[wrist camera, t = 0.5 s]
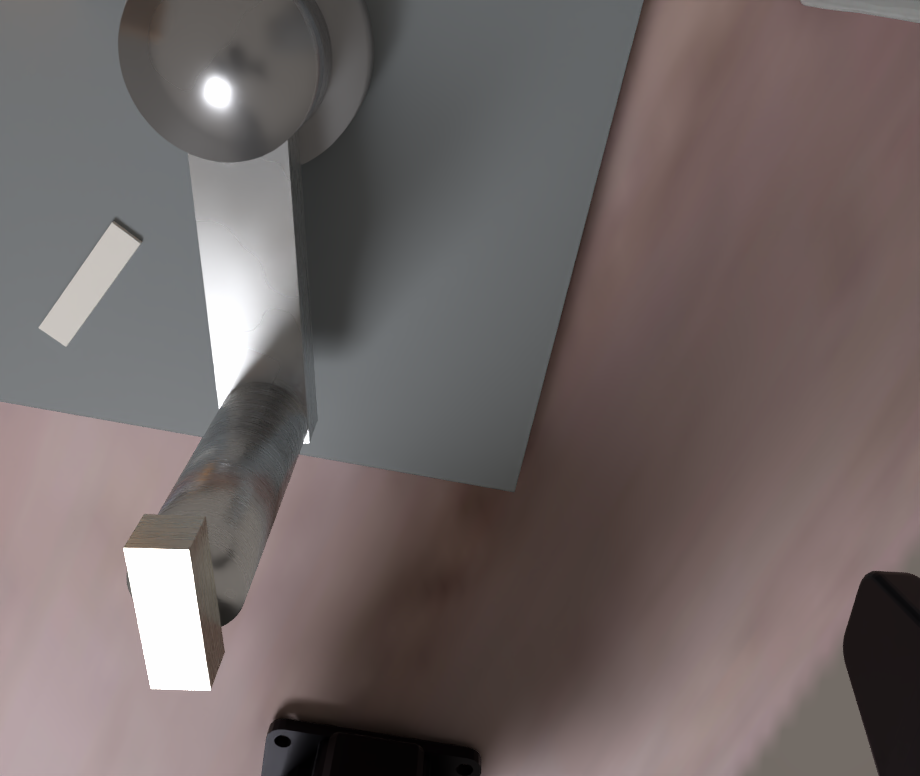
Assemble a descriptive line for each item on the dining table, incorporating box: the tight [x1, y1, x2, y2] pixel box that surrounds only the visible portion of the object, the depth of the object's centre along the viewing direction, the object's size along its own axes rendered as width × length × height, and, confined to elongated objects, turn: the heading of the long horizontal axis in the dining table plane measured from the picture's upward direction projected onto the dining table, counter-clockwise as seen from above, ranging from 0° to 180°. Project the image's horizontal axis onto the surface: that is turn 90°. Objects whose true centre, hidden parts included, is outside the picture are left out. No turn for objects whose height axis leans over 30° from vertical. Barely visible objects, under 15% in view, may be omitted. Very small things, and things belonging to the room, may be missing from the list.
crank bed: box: [0, 0, 644, 492], centre depth 16 cm, size 16×15×4 cm
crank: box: [118, 0, 332, 690], centre depth 14 cm, size 10×3×7 cm, turn 179°
